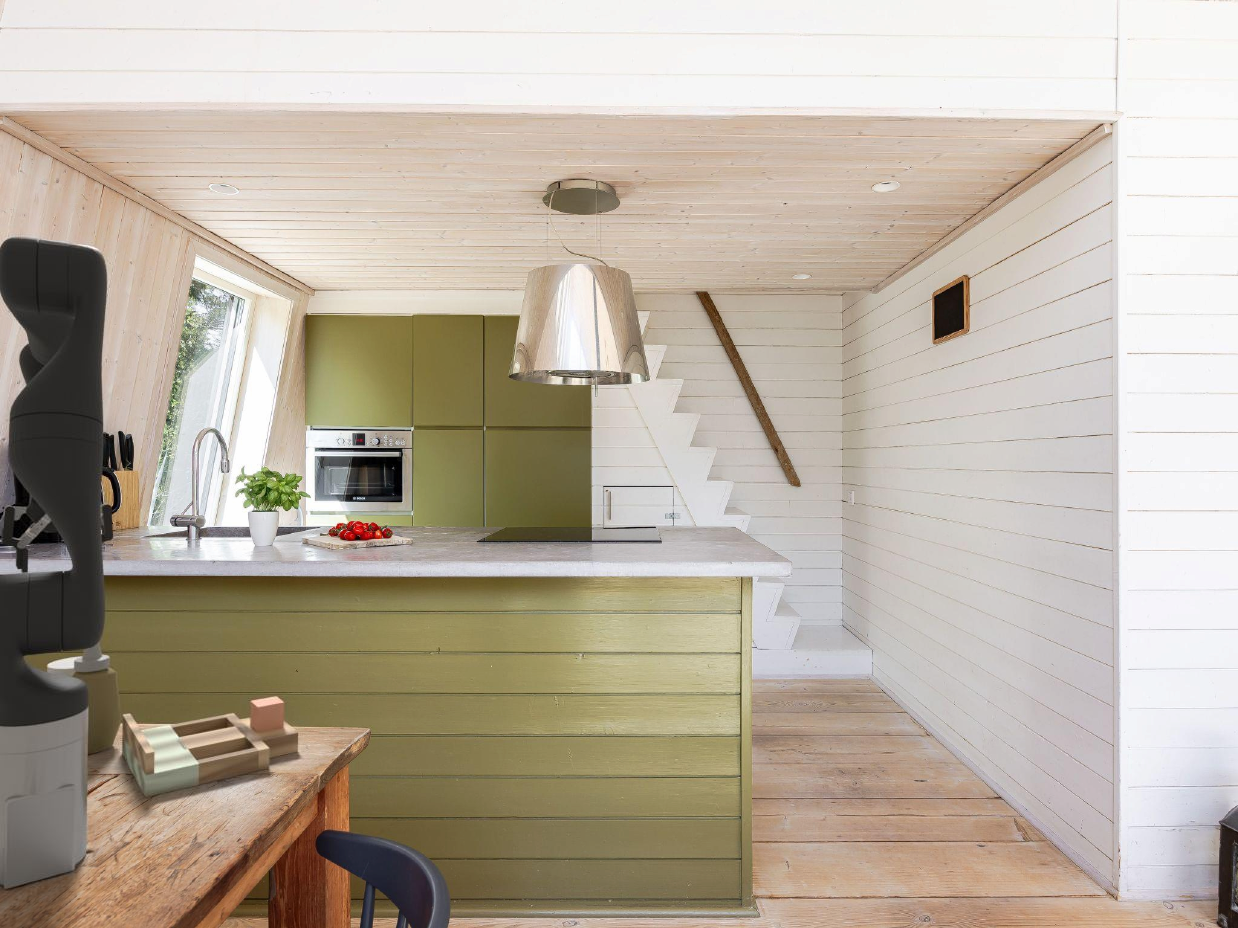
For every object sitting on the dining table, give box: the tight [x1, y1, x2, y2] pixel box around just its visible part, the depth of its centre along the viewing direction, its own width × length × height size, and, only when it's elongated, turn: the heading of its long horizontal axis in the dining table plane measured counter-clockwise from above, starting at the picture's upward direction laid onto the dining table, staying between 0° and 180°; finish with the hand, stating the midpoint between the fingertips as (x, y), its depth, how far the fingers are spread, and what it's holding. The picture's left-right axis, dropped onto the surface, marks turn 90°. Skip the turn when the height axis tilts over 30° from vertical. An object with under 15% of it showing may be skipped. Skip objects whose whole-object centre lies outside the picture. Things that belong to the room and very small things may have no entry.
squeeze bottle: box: [68, 641, 123, 754], centre depth 121 cm, size 8×8×18 cm
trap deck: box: [121, 712, 299, 798], centre depth 119 cm, size 20×22×6 cm
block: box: [249, 695, 285, 732], centre depth 124 cm, size 4×4×4 cm
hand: (58, 570), depth 122 cm, fingers open, 8 cm apart
